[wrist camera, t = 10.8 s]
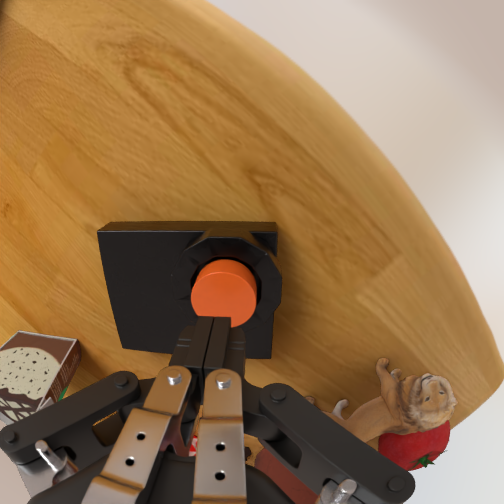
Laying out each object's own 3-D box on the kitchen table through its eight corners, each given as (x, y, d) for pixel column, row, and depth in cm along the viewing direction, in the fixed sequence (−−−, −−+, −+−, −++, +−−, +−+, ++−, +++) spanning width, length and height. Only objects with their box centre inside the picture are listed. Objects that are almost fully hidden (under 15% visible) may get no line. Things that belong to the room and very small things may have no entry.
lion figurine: (411, 323, 23) (456, 395, 15) (430, 352, 24) (469, 417, 16) (283, 407, 27) (288, 484, 19) (313, 426, 28) (323, 495, 20)
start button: (194, 258, 17) (188, 271, 16) (257, 259, 17) (257, 272, 16) (198, 310, 19) (193, 326, 17) (256, 312, 18) (255, 329, 17)
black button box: (109, 218, 20) (82, 236, 16) (279, 218, 20) (284, 238, 16) (131, 333, 24) (114, 362, 20) (273, 341, 24) (275, 375, 20)
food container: (31, 368, 27) (-7, 422, 18) (11, 328, 25) (-36, 381, 16) (108, 384, 27) (74, 457, 18) (88, 340, 25) (40, 415, 15)
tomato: (448, 386, 27) (475, 435, 19) (420, 430, 30) (438, 475, 22) (385, 397, 27) (407, 456, 19) (362, 441, 30) (375, 492, 22)
